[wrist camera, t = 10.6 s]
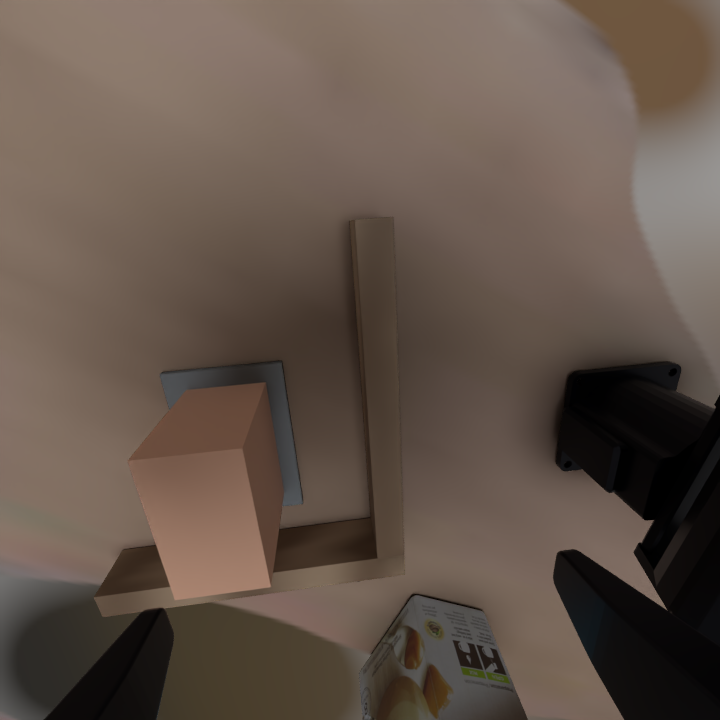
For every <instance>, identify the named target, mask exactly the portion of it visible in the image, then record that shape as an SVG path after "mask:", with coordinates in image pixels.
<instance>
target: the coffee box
mask: <svg viewBox="0 0 720 720" xmlns="http://www.w3.org/2000/svg"><path fill="white" fill-rule="evenodd" d="M359 676H360V677H359V678H360V691H361V703H362V715H363V720H528V719H527V716H526V714H525V711H524V709H523V707H522V704H521V702H520V699H519V697H518V695H517V693H516V690H515V687H514V685H513V682H512V680H511V678H510V675H509V673H508V670H507V668H506V665H505V663H504V660H503V658H502V656H501V653H500V651H499V648H498V646H497V643H496V641H495V638H494V636H493V633H492V631H491V628H490V626H489V624H488V621H487V618H486V616H485V614H484V612H483V611H480V610H476V609H472V608H468V607H464V606H460V605H455V604H451V603H447V602H443V601H439V600H435V599H431V598H427V597H423V596H419V595H415V596H413V597H411V599H410V600H409V601H408V603H407V604H406V606H405V607H404V609H403V610H402V612H401V613H400V614H399V616H398V617H397V619H396V620H395V622H394V623H393V625H392V626H391V627H390V629H389V630H388V632H387V633H386V635H385V636H384V637H383V639H382V640H381V642H380V643H379V645H378V646H377V648H376V649H375V650H374V652H373V653H372V655H371V656H370V658H369V659H368V660H367V662H366V664H365V665H364V666H363V668H362V669H361V671H360V673H359Z"/></svg>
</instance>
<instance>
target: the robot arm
mask: <svg viewBox="0 0 720 720" xmlns="http://www.w3.org/2000/svg"><path fill="white" fill-rule="evenodd" d="M669 371H670V372H669ZM680 373H681V367H680V366H679V365H678V364H675V363H673V362H661V363H652V364H642V365H632V366H623V367H613V368H604V369H594V370H585V371H577V372H574V373H572V374H571V375H570V376H569V379H568V383H567V390H566V397H565V404H564V410H563V414H562V421H561V428H560V435H559V442H558V452H557V459H556V464H557V466H558V467H559V468H560V469H561V470H563V471H572V470H580V469H583V470H584V471H585V472H586V473H587V474H588V475H589V476H590V477H591V478H593V479H594V480H595V481H596V482H597V483H598V484H599V485H600V486H601V487H602V488H603V489H604V490H606V491H607V492H608V493H612V492H614V493H615V494H616V495H617V496H619V497H620V498H621V499H622V500H623V501H624V502H625V503H626V504H627V505H628V506H630V507H631V508H632V509H633V510H634V511H635V512H636V513H637V514H638V515H640V516H641V517H642V518H643V519H644V520H654V521H653V523H652V525H651V526H650V528H649V530H648V532H647V534H646V536H645V537H644V539H643V541H642V543H638V545H637V547H636V549H635V550H634V554H635V556H636V558H637V559H638V561H639V563H640V564H641V566H642V568H643V569H644V571H645V573H646V575H647V576H648V578H649V580H650V581H651V583H652V585H653V586H654V588H655V590H656V591H657V593H658V595H659V597H660V598H661V600H662V602H663V603H664V605H665V607H666V608H667V610H668V611H667V610H666V609H664V608H663V607H661V606H660V605H658V604H657V603H655V602H654V601H652V600H651V599H649V598H648V597H646V596H645V595H643V594H642V593H640V592H639V591H637V590H636V589H634V588H633V587H631V586H630V585H628V584H627V583H625V582H624V581H623V580H621V579H620V578H618V577H617V576H615V575H614V574H612V573H611V572H609V571H608V570H606V569H605V568H603V567H602V566H600V565H599V564H597V563H596V562H594V561H593V560H591V559H590V558H588V557H587V556H585V555H584V554H582V553H581V552H579V551H577V550H574V549H571V550H564V551H559V552H558V553H557V555H556V561H555V567H554V574H553V580H554V584H555V587H556V589H557V591H558V593H559V595H560V597H561V600H562V602H563V604H564V606H565V608H566V610H567V612H568V614H569V617H570V619H571V621H572V623H573V625H574V627H575V629H576V631H577V633H578V636H579V638H580V640H581V642H582V644H583V646H584V648H585V650H586V652H587V654H588V656H589V658H590V660H591V662H592V664H593V666H594V668H595V670H596V671H597V673H598V675H599V677H600V678H601V680H602V682H603V684H604V685H605V687H606V689H607V691H608V692H609V694H610V696H611V697H612V699H613V701H614V703H615V704H616V706H617V708H618V710H619V711H620V713H621V715H622V717H623V718H624V720H720V395H719V397H718V399H717V401H716V403H715V404H714V405H715V406H716V409H713V408H711V407H709V406H707V405H705V404H703V403H700V402H698V401H696V400H694V399H692V398H690V397H687V396H685V395H683V394H681V393H679V392H677V391H676V389H677V385H678V381H679V377H680ZM580 378H581V379H580ZM578 379H580V381H579V382H578V383H577V380H578ZM566 461H567V462H566ZM565 462H566V463H565ZM564 463H565V464H564ZM173 641H174V632H173V629H172V626H171V624H170V621H169V618H168V615H167V612H166V610H165V609H164V608H163V607H159V608H152V609H147V610H144V611H143V612H141V613H140V614H139V615H138V616H137V617H136V618H135V620H134V621H133V622H132V623H131V624H130V625H129V626H128V627H127V628H126V629H125V631H124V632H123V633H122V634H121V635H120V636H119V637H118V638H117V640H115V642H114V643H113V644H112V645H111V646H110V647H109V648H108V649H107V651H106V652H105V653H104V654H103V655H102V656H101V657H100V658H99V659H98V660H97V661H96V663H95V664H94V665H93V666H92V667H91V668H90V669H89V670H88V671H87V673H86V674H85V675H84V676H83V677H82V678H81V679H80V680H79V682H77V684H76V685H75V686H74V687H73V688H72V689H71V690H70V691H69V692H68V693H67V694H66V696H65V697H64V698H63V699H62V700H61V701H60V702H59V703H58V705H57V706H56V707H55V708H54V709H53V710H52V711H51V712H50V713H49V714H48V716H47V717H46V718H45V719H44V720H156V719H157V715H158V710H159V706H160V701H161V697H162V692H163V688H164V683H165V679H166V674H167V669H168V665H169V660H170V656H171V651H172V647H173Z"/></svg>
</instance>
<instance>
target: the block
mask: <svg viewBox="0 0 720 720" xmlns="http://www.w3.org/2000/svg"><path fill="white" fill-rule="evenodd" d="M128 464H129V467H130V470H131V473H132V476H133V479H134V482H135V484H136V487H137V490H138V493H139V496H140V499H141V502H142V505H143V508H144V511H145V514H146V517H147V520H148V523H149V526H150V529H151V531H152V534H153V537H154V540H155V543H156V546H157V549H158V552H159V555H160V558H161V561H162V564H163V567H164V570H165V573H166V575H167V578H168V581H169V584H170V587H171V590H172V593H173V596H174V599H175V600H181V599H188V598H196V597H203V596H210V595H218V594H225V593H232V592H239V591H247V590H254V589H261V588H269V587H271V583H272V576H273V569H274V562H275V555H276V548H277V540H278V533H279V526H280V519H281V512H282V504H283V497H284V488H283V482H282V476H281V470H280V464H279V458H278V452H277V446H276V440H275V434H274V428H273V422H272V416H271V410H270V404H269V398H268V392H267V386H266V382H263V383H253V384H243V385H232V386H222V387H212V388H201V389H191V390H186V391H185V392H184V393H183V394H182V396H181V397H180V398H179V399H178V400H177V402H176V403H175V404H174V405H173V407H172V408H171V409H170V410H169V411H168V413H167V414H166V415H165V416H164V417H163V419H162V420H161V421H160V422H159V423H158V425H157V426H156V427H155V428H154V429H153V431H152V432H151V433H150V434H149V435H148V437H147V438H146V439H145V440H144V442H143V443H142V444H141V445H140V446H139V448H138V449H137V450H136V451H135V452H134V454H133V455H132V456H131V457H130V458H129V460H128Z"/></svg>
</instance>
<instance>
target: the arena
mask: <svg viewBox="0 0 720 720" xmlns="http://www.w3.org/2000/svg"><path fill="white" fill-rule="evenodd" d="M349 223H350V237H351V251H352V265H353V279H354V293H355V307H356V321H357V335H358V348H359V362H360V376H361V390H362V404H363V418H364V432H365V446H366V460H367V474H368V487H369V501H370V515H371V518H366V519H358V520H350V521H343V522H335V523H327V524H319V525H312V526H304V527H296V528H288V529H281V530H279V533H278V540H277V548H276V555H275V562H274V569H273V576H272V583H271V587H269V588H261V589H254V590H247V591H239V592H232V593H225V594H218V595H210V596H203V597H196V598H188V599H181V600H175V599H174V596H173V593H172V590H171V587H170V584H169V581H168V578H167V575H166V573H165V570H164V567H163V564H162V561H161V558H160V555H159V552H158V549H157V546H149V547H141V548H133V549H126V550H123V551H122V552H121V554H120V556H119V557H118V559H117V561H116V562H115V564H114V565H113V567H112V569H111V570H110V572H109V574H108V575H107V577H106V578H105V580H104V582H103V583H102V585H101V587H100V588H99V590H98V591H97V593H96V595H95V596H94V599H95V601H96V603H97V605H98V607H99V610H100V612H101V614H102V616H103V617H106V616H114V615H121V614H128V613H135V612H143V611H144V610H147V609H152V608H159V607H163V608H171V607H178V606H185V605H192V604H199V603H206V602H214V601H221V600H228V599H235V598H242V597H249V596H256V595H263V594H270V593H277V592H284V591H292V590H299V589H306V588H313V587H320V586H327V585H334V584H341V583H348V582H355V581H363V580H370V579H377V578H384V577H391V576H398V575H405V560H404V529H403V498H402V467H401V436H400V405H399V374H398V343H397V312H396V281H395V250H394V219H393V217H384V218H370V219H355V220H351V221H349ZM160 378H161V382H162V385H163V389H164V392H165V396H166V399H167V403H168V407H169V410H170V409H171V408H172V407H173V405H174V404H175V403H176V402H177V400H178V399H179V398H180V397H181V396H182V394H183V393H184V392H185V391H186V390H191V389H201V388H212V387H222V386H232V385H243V384H253V383H263V382H266V386H267V392H268V398H269V404H270V410H271V416H272V422H273V428H274V434H275V440H276V446H277V452H278V458H279V464H280V470H281V476H282V482H283V488H284V497H283V504H282V506H290V505H298V504H303V497H302V490H301V484H300V477H299V470H298V464H297V457H296V451H295V444H294V437H293V431H292V424H291V418H290V411H289V404H288V398H287V391H286V385H285V378H284V371H283V365H282V361H274V362H264V363H253V364H243V365H233V366H222V367H212V368H202V369H191V370H181V371H171V372H162V373H161V374H160Z"/></svg>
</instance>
